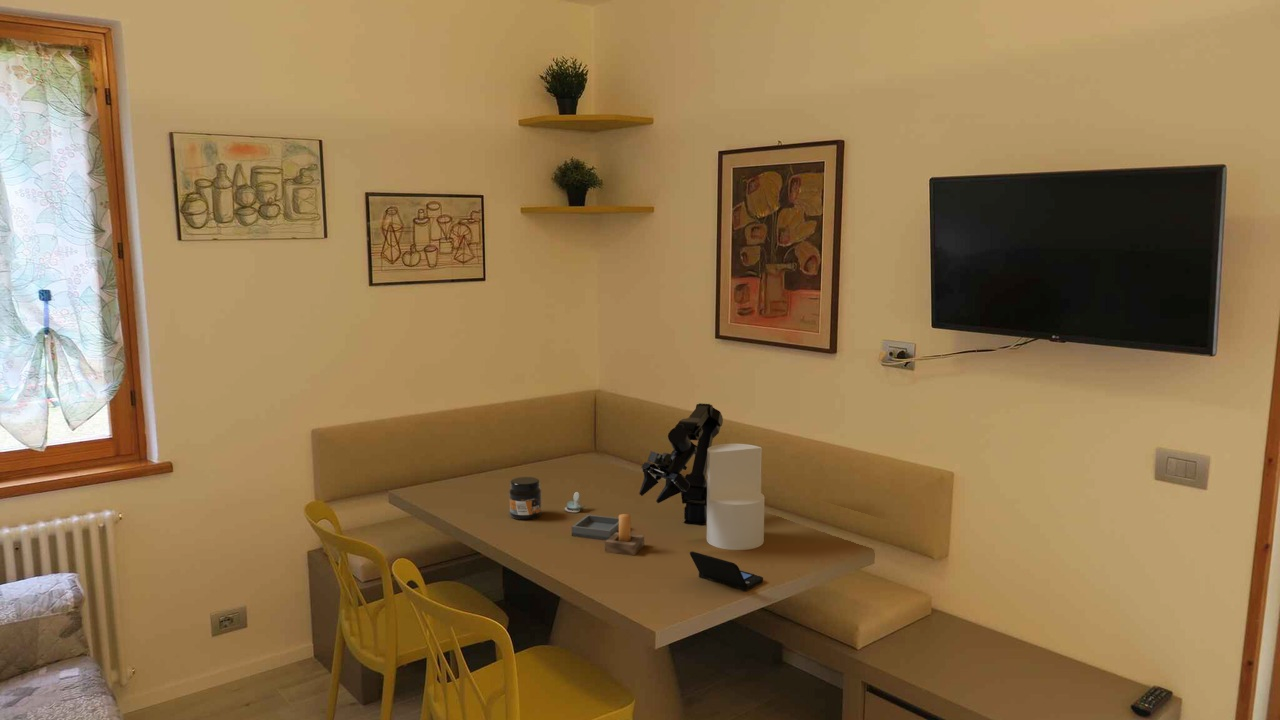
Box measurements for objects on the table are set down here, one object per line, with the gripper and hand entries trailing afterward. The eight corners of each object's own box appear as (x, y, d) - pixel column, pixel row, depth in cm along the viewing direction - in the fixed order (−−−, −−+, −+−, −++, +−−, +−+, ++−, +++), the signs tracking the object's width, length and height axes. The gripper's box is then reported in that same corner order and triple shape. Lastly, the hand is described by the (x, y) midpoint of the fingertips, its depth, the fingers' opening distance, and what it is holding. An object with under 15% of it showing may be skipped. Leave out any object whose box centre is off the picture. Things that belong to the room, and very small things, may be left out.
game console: (765, 582, 237) (766, 550, 235) (735, 598, 226) (736, 564, 225) (718, 568, 247) (718, 537, 246) (688, 582, 237) (688, 550, 235)
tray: (624, 527, 280) (624, 518, 280) (609, 540, 269) (609, 531, 268) (587, 523, 285) (587, 514, 284) (571, 535, 273) (571, 526, 272)
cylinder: (697, 534, 274) (697, 446, 270) (747, 528, 280) (748, 441, 276) (721, 553, 258) (722, 459, 254) (774, 545, 264) (775, 454, 260)
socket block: (644, 545, 265) (644, 535, 264) (633, 555, 256) (633, 545, 256) (616, 541, 268) (616, 532, 267) (604, 551, 259) (604, 541, 259)
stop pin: (632, 547, 263) (632, 514, 262) (628, 551, 260) (628, 518, 258) (621, 545, 264) (621, 513, 263) (617, 549, 261) (616, 516, 259)
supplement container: (520, 522, 286) (519, 486, 284) (503, 515, 294) (502, 479, 292) (547, 516, 292) (547, 481, 290) (530, 508, 300) (529, 474, 299)
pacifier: (573, 515, 294) (587, 511, 298) (572, 497, 293) (587, 493, 297) (560, 510, 299) (575, 506, 303) (559, 492, 298) (574, 488, 302)
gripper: (646, 435, 273) (616, 475, 268) (681, 447, 257) (649, 489, 253) (667, 457, 278) (638, 497, 273) (703, 470, 262) (672, 512, 258)
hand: (648, 498), depth 264 cm, fingers open, 9 cm apart
